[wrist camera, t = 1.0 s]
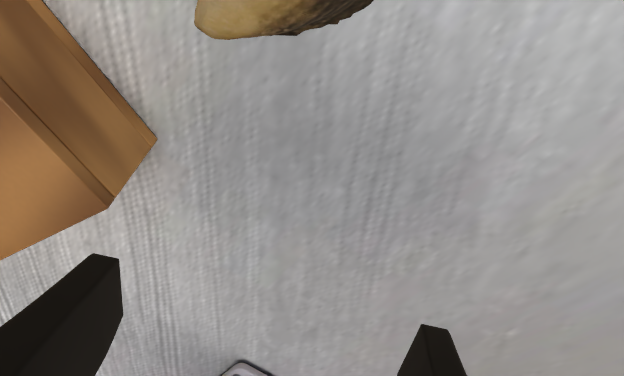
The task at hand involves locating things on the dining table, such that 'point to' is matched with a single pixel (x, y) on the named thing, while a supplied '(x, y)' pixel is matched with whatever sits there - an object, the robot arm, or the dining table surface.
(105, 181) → the box
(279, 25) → the nut kernel
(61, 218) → the lid
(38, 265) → the dining table surface
